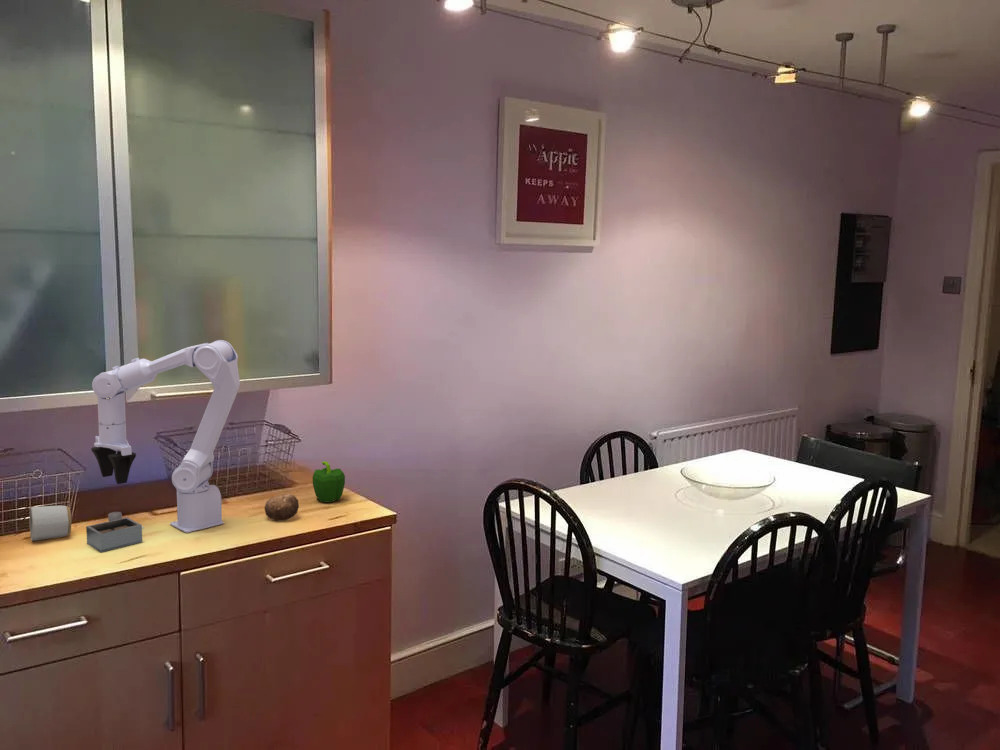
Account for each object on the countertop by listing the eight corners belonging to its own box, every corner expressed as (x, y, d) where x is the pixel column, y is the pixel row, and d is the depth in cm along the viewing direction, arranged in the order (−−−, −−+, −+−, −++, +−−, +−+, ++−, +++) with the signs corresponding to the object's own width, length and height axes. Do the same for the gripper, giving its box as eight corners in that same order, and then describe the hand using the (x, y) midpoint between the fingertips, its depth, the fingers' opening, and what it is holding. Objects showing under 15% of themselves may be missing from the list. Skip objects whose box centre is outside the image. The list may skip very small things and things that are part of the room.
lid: (128, 522, 198) (127, 505, 197) (144, 530, 193) (143, 512, 192) (87, 532, 190) (86, 514, 190) (102, 541, 185) (101, 522, 185)
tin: (128, 534, 189) (127, 517, 188) (142, 542, 184) (141, 524, 183) (87, 543, 182) (86, 526, 181) (100, 552, 177) (100, 534, 177)
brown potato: (285, 496, 209) (282, 482, 205) (307, 514, 206) (304, 499, 201) (260, 517, 205) (256, 502, 200) (282, 535, 201) (278, 520, 197)
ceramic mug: (73, 539, 184) (71, 507, 183) (32, 545, 180) (30, 512, 179) (66, 526, 193) (65, 495, 192) (28, 532, 188) (26, 500, 187)
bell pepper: (347, 503, 216) (348, 466, 214) (315, 506, 213) (315, 468, 211) (341, 494, 224) (341, 457, 222) (310, 496, 220) (310, 459, 219)
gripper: (81, 419, 194) (83, 476, 196) (108, 430, 184) (110, 489, 187) (111, 415, 199) (114, 470, 201) (139, 426, 190) (141, 483, 192)
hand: (114, 479), depth 194 cm, fingers open, 7 cm apart
